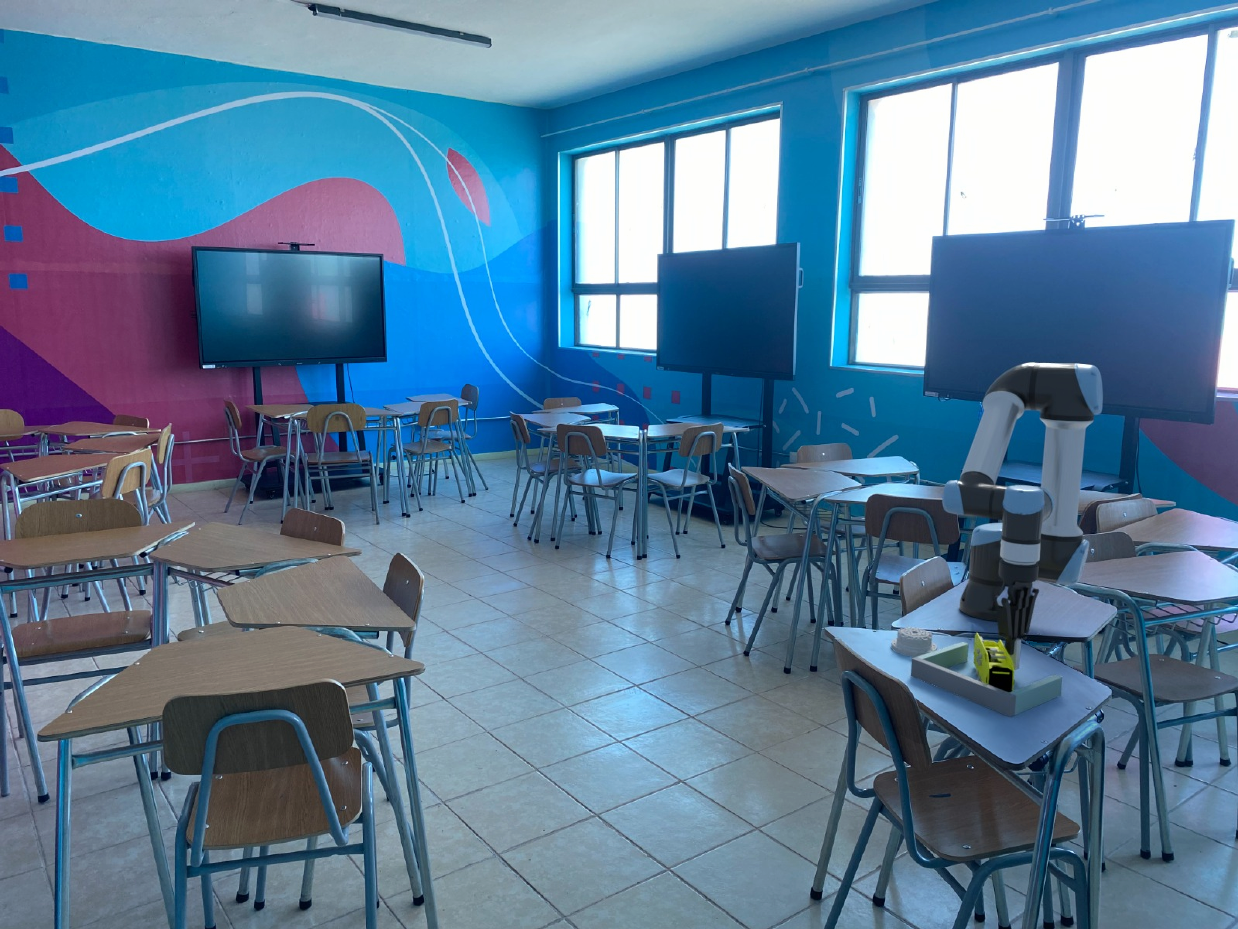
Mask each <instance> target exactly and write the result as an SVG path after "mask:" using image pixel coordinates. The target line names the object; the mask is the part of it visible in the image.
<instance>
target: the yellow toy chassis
mask: <svg viewBox="0 0 1238 929" xmlns="http://www.w3.org/2000/svg"><path fill="white" fill-rule="evenodd" d="M973 646H974V647H973V664H974V667H975V669H976V670H975V676H976V677H977V680H978V681H980V682H983V683H985V684H988V685H990V686H993V687H996V688H998V689H1001V690H1003V691H1006V692H1009V693H1010V692H1012V691H1014V686H1015V670H1014V666H1013V661H1012V659H1011V658H1010V656H1009V654H1008V652H1007V650H1006V649H1005V644H1004V643H1003V641H1002V640H1001V639H998V641H997V642H996V641H994V640H984V638H983V636H980V635H979V633H978V632H976V633H975V635H974V644H973Z"/></svg>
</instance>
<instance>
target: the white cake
mask: <svg viewBox="0 0 1238 929" xmlns="http://www.w3.org/2000/svg"><path fill="white" fill-rule="evenodd" d="M896 635H897V637H895V638H893V639H892V640H891V645H890V647H891V649H892V650H893V651H894V652H896V653H898V654H901V655H903V656H908V657H912V658H914V657H917V656H921V655H924V654H927V653H930V652H933V651H936V650H938V646H937V644H936V643H934V642H933V633H932V632H931V631H927V630H925V628H919V627H918V628H917V627H912V626H911V627H907V626H906V627H905V628H901V627H900V628H899V630H897V634H896Z"/></svg>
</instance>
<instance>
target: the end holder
mask: <svg viewBox="0 0 1238 929" xmlns="http://www.w3.org/2000/svg"><path fill="white" fill-rule="evenodd" d="M969 644H970V643H967V642H964V641H962V642H957V643H955V644H952V645H948V646H945V647H942V648H940V649H937V650H936V651H933V652H930V653H927V654H924V655H921V656H917V657H912V658H911V664H910V666H911V667H910V677H912V678H915V679H917V680H919V681H921V680H922V682H924V681H925V682H924V683H926V682H927V684H929V685H931V684H933V685H932V686H934V685H935V686H934V687H936V686H937V687H936V688H938V689H941V690H944V691H946V692H948V693H951V694H953V695H956V696H958V697H961V698H963V699H966V700H968V701H970V702H973V703H974V704H978V705H980V706H982V707H984V708H987V709H990V710H992V711H995V712H997V713H999V714H1002V715H1004V716H1006V717H1009V718H1011V717H1013V716H1015V715H1018V714H1021V713H1023V712H1025V711H1027V710H1030V709H1032V708H1036V707H1037V706H1040V705H1041V704H1045V703H1046V702H1049V701H1051V700H1054V699H1057V698H1059V697H1061V696H1062V690H1063V689H1062V687H1063V679H1064V678H1063V677H1064V676H1061V675H1058V674H1053V675H1051V676H1048V677H1045V678H1043V679H1040V680H1038V681H1035V682H1032V683H1031V684H1027V685H1025V686H1023V687H1020V688H1017V689H1014V690H1013V691H1012V692H1010V693H1009V692H1006V691H1003V690H1001V689H998V688H996V687H993V686H990V685H988V684H985V683H983V682H982V681H978V679H974V678H972V677H970V676H967V675H964V674H962V673H959V672H956V671H954V670H951V669H949V668H952V667H954V666H957V665H960V664H963V663H966V662H968V658H969Z"/></svg>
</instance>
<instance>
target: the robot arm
mask: <svg viewBox="0 0 1238 929" xmlns="http://www.w3.org/2000/svg"><path fill="white" fill-rule="evenodd" d="M1103 390H1104V389H1103V380H1102V374H1101V372H1100V370H1099V369H1098V367H1097V366H1095V365H1093V364H1083V363H1078V362H1077V363H1056V362H1055V363H1052V362H1051V363H1049V362H1047V363H1046V362H1040V363H1039V362H1025V363H1021V364H1018V365H1016V366H1013V367H1011V368H1010V369H1008V370H1006V371H1005V372H1003V373H1002V374H1001V375H1000V376H999V377H997V378H996V379H995V380H994V382H993V383H992V384H990V385H989V388H988V389H987V391H986V392H985V395H984V397H983V400H982V408H983V412H982V416H981V419H980V421H979V423H978V424H979V425H978V427H977V430H976V432H975V436H974V438H973V441H972V443H971V446H970V449H969V451H968V455H967V457H966V460H965V462H964V465H963V468H962V471H961V474H960V477H959V480H958V479H956V480H952V479H951V480H948V481H947V482H946V483H945V484H944V487H943V491H942V496H941V497H942V501H941V502H942V508H943V510H944V511H945V512H946V513H948V514H949V513H950V514H952V515H953V514H954V515H958V516H959V515H960V516H968V517H977V518H984V519H985V518H986V519H991V520H998V521H1002V522H992V523H985V524H981V525H978V526H976V527H975V528H974V529H973V531H972V533H971V534H972V535H971V542H970V552H969V553H970V554H969V568H968V569H969V571H968V581H967V582H966V586H965V587H964V590H963V592H962V594H961V597H960V599H959V610H960V612H962V613H964V614H965V615H967V616H970V617H973V618H977V619H981V620H984V621H985V620H986V621H994V622H997V630H998V631H997V633H998V637H1000V638H1004V639H1005V641H1004V647H1005V649H1006V650H1007V652H1008V654H1009V656H1010V658H1011V659H1012V661H1013V666H1014V671H1017V670H1019V669H1020V659H1021V647H1022V640H1027V638H1028V635H1027V634H1029V632H1030V628H1031V623H1032V618H1033V615H1034V610H1035V606H1036V605H1035V604H1036V599H1037V597H1038V595H1039V593H1040V590H1039V588H1036V587H1033V583H1034V582H1036V581H1038V582H1044V583H1048V584H1049V583H1050V584H1054V585H1056V586H1057V585H1063V586H1064V585H1065V586H1074V585H1075V586H1076V584H1078V583H1079V581H1080V579H1081V578H1082V575H1083V572H1084V568H1085V565H1086V562H1087V558H1088V554H1089V550H1090V541H1089V540H1087V539H1084V538H1083V537H1084V532H1083V529H1081V527H1079V526H1078V516H1079V504H1080V494H1081V483H1082V474H1083V473H1082V471H1083V460H1084V449H1085V438H1086V429H1087V427H1088V426H1089V425H1091V424H1092V423H1093V422H1094V420H1095V416H1097V415H1100V414H1102V411H1103V401H1104V393H1103ZM1025 411H1039V420H1040V421H1041V422H1043V424H1044V425H1045V434H1044V435H1045V436H1044V448H1043V458H1042V471H1041V482H1040V486H1037V485H1036V486H1035V485H1034V486H1032V485H1025V484H1022V485H1021V484H1020V485H1019V484H1015V485H1009V486H1008V485H998V484H996V483H997V479H998V477H999V474H1000V470H1001V468H1002V464H1003V463H1004V462H1003V461H1004V458H1005V455H1006V452H1007V450H1008V447H1009V444H1010V440H1011V437H1012V434H1013V431H1014V430H1015V426H1016V423H1017V420H1018V419H1020V418H1021V417H1022V416H1023V414H1024V412H1025ZM1025 634H1026V635H1025Z"/></svg>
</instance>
